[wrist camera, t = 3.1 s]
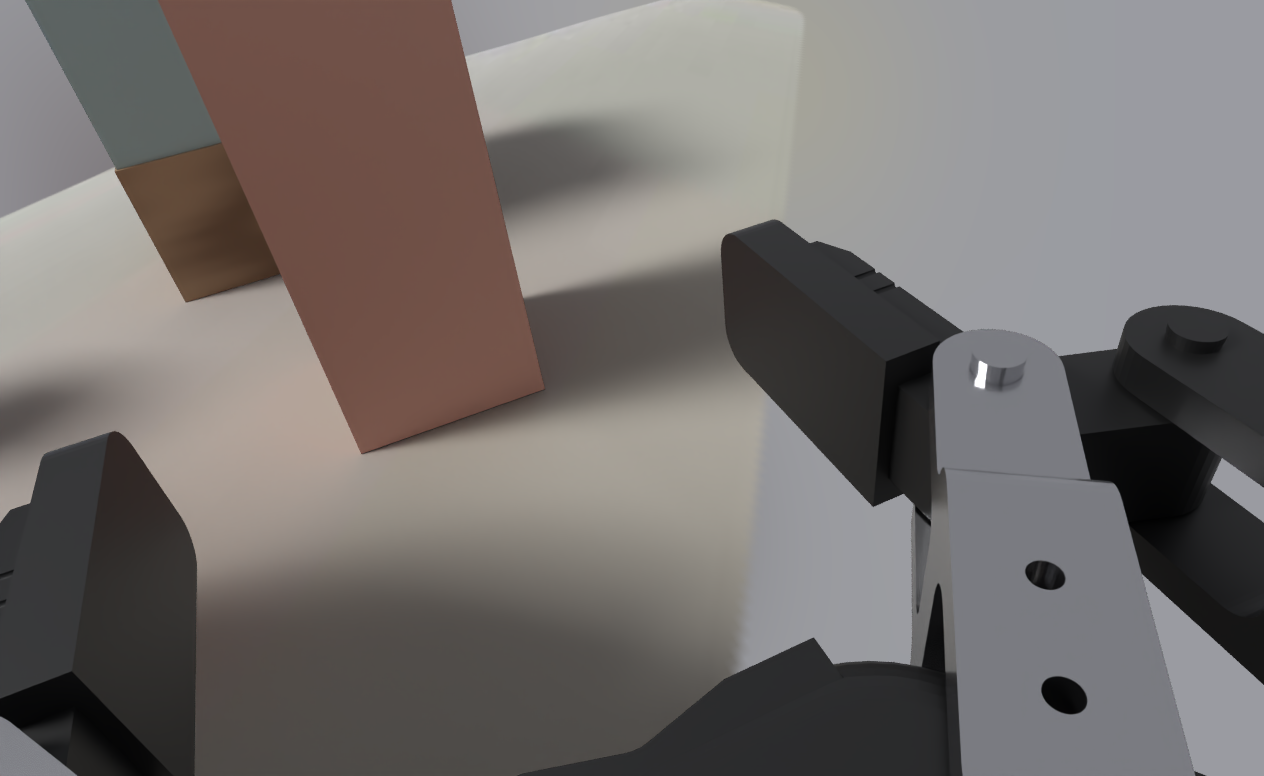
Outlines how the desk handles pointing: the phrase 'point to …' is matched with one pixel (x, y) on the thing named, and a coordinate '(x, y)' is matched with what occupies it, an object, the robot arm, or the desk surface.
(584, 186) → the desk surface
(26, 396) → the desk surface
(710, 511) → the desk surface
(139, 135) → the tower top block
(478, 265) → the brick-red block
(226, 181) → the tower base block
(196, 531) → the desk surface
